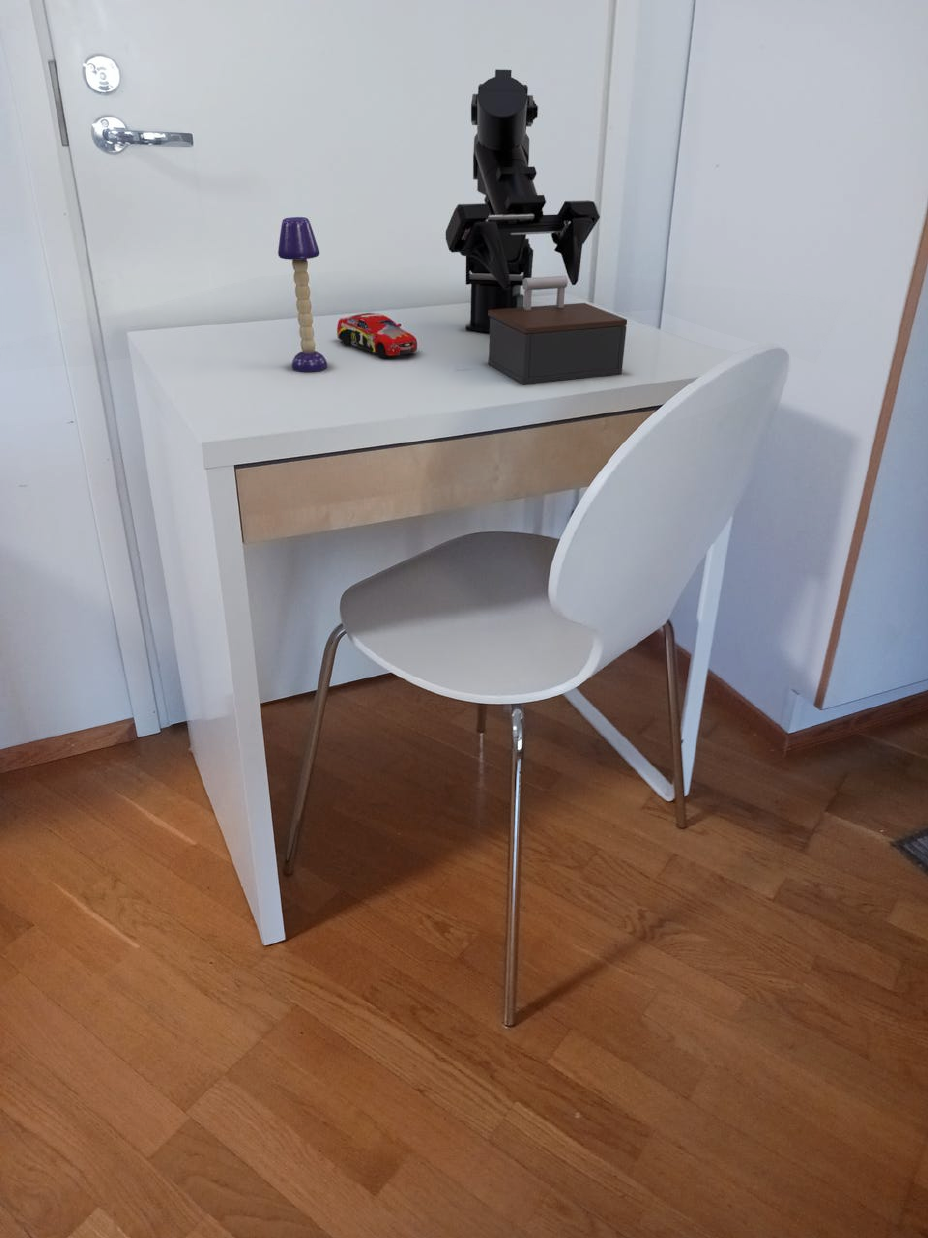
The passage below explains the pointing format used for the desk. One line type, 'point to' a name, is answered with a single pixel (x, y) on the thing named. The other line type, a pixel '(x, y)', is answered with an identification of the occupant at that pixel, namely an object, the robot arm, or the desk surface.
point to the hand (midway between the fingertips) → (542, 285)
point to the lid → (554, 311)
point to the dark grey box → (556, 353)
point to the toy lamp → (302, 287)
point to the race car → (376, 334)
